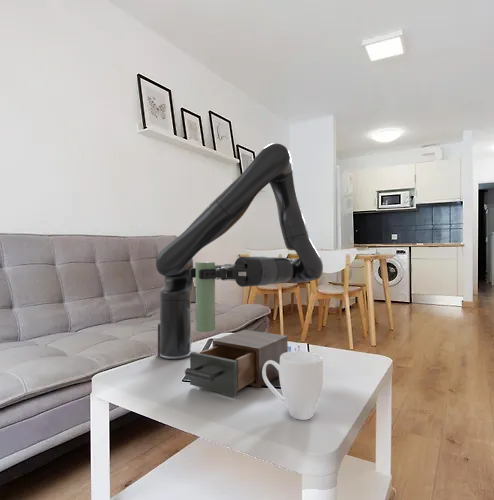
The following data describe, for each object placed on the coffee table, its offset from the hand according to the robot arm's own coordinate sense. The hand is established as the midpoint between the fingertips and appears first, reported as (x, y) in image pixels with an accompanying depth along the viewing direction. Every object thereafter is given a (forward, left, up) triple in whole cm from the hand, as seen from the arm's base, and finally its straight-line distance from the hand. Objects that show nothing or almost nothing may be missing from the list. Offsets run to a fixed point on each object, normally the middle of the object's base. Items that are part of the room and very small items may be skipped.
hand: (194, 273), depth 85 cm
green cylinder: (+1, +3, -13) cm, 14 cm away
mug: (+24, +1, -27) cm, 36 cm away
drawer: (+5, +4, -26) cm, 27 cm away
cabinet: (+5, +16, -27) cm, 32 cm away
